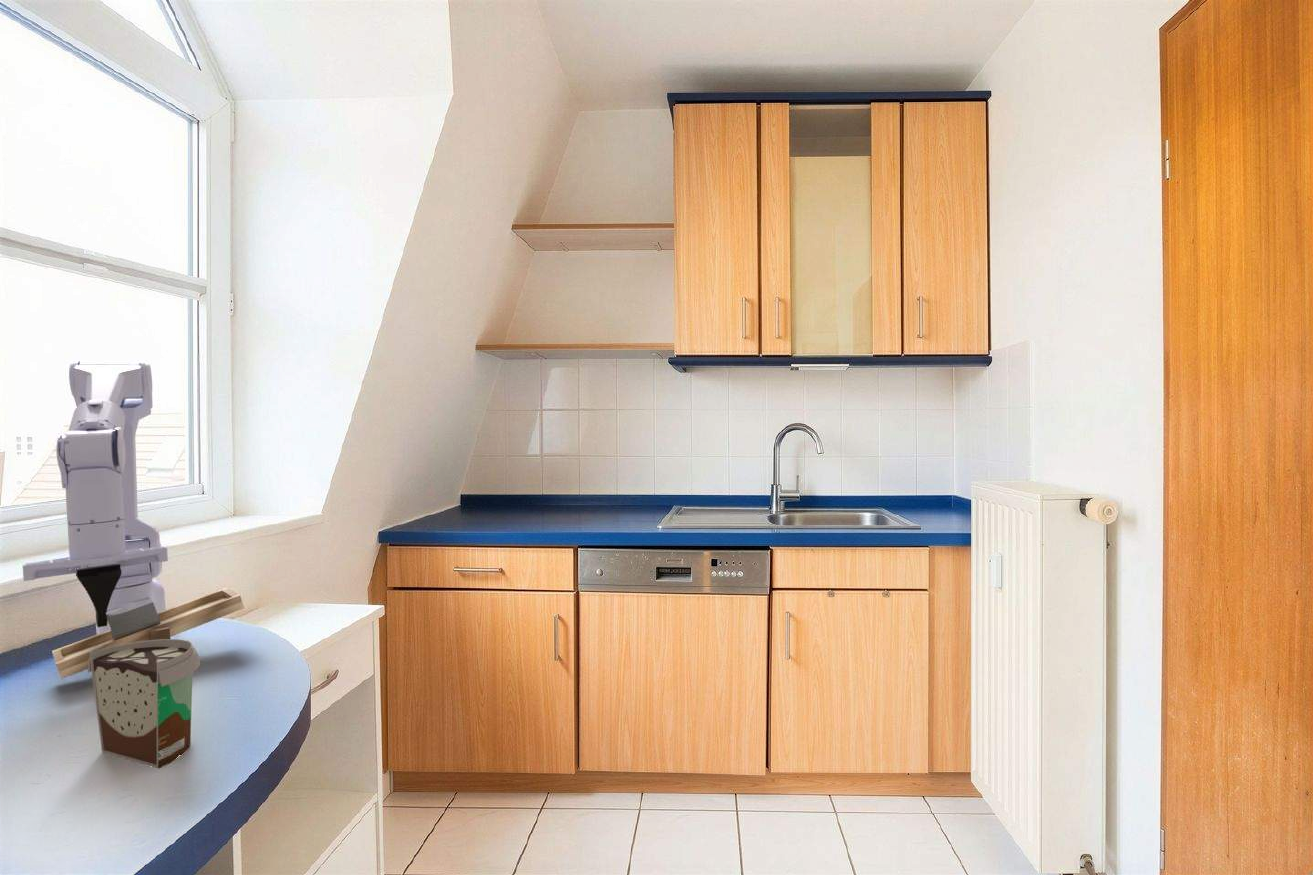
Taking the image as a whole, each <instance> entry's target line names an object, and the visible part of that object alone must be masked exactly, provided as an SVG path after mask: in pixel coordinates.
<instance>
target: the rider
mask: <svg viewBox="0 0 1313 875" xmlns="http://www.w3.org/2000/svg"><path fill="white" fill-rule="evenodd" d="M106 615H107V617H106V618H107V624H108V627H109V629H110V632H111V635H112V638H113V640H114V641H115V640H118V639H121V638H123V637H126V636H129V635H131V634H134V633H137V632H139V631H142V630H145V629H147V628H150V627H153V626H156V625H158V624H161V623H160V620H159V617H158V614H157V611H156V608H155V606H154V603H153V601H152V600H151V599H150V598H149V597H148V596H147V597H144V598H142V599H139V600H136V601H133V602H130V603H127V604H124V605H121V606H118V607H115V608H113V609H110V610H107V612H106Z"/></svg>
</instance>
